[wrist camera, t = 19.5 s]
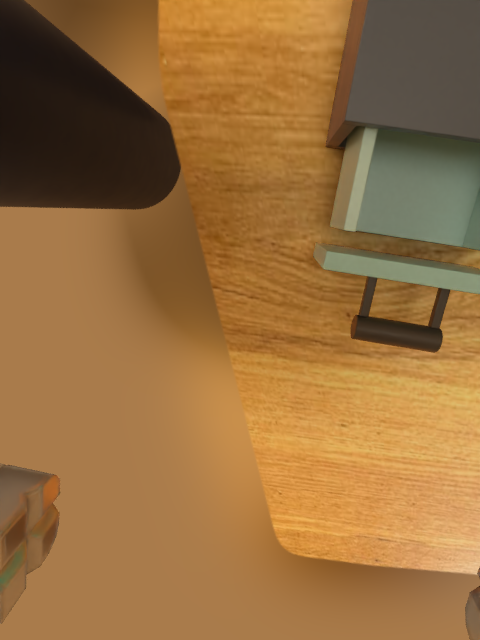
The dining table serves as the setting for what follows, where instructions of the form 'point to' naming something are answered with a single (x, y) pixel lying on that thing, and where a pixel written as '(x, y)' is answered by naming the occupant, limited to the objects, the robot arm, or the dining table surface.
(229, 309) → the dining table surface
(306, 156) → the dining table surface
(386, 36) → the mini chest of drawers
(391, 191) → the drawer
